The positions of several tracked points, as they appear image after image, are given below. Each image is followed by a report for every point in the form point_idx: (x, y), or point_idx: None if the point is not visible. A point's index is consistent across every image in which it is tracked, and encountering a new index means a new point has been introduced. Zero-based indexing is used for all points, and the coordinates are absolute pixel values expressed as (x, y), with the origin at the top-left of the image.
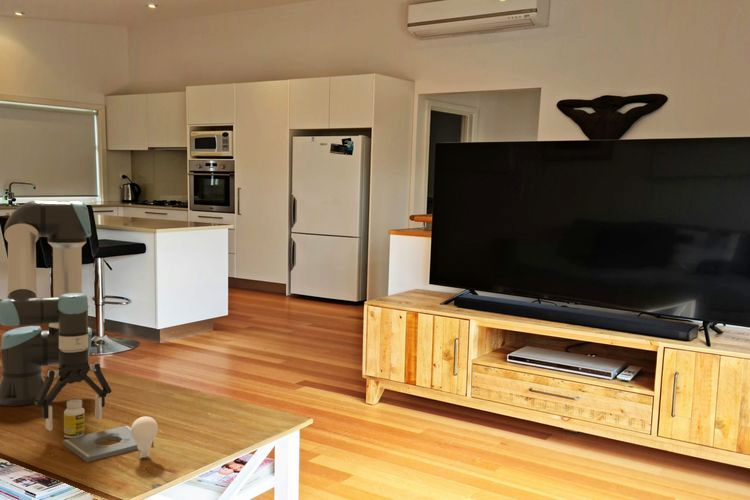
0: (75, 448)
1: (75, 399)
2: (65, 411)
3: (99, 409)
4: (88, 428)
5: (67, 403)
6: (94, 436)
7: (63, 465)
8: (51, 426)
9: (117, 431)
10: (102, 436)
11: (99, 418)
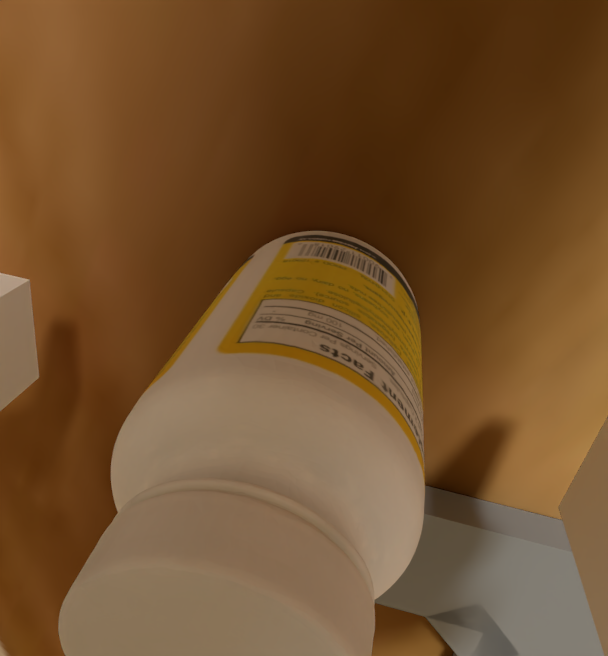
0: None
1: (292, 623)
2: (114, 485)
3: (603, 637)
4: (547, 261)
5: (64, 629)
6: None
7: (45, 622)
8: (2, 398)
9: (544, 615)
10: (390, 596)
11: (567, 523)
